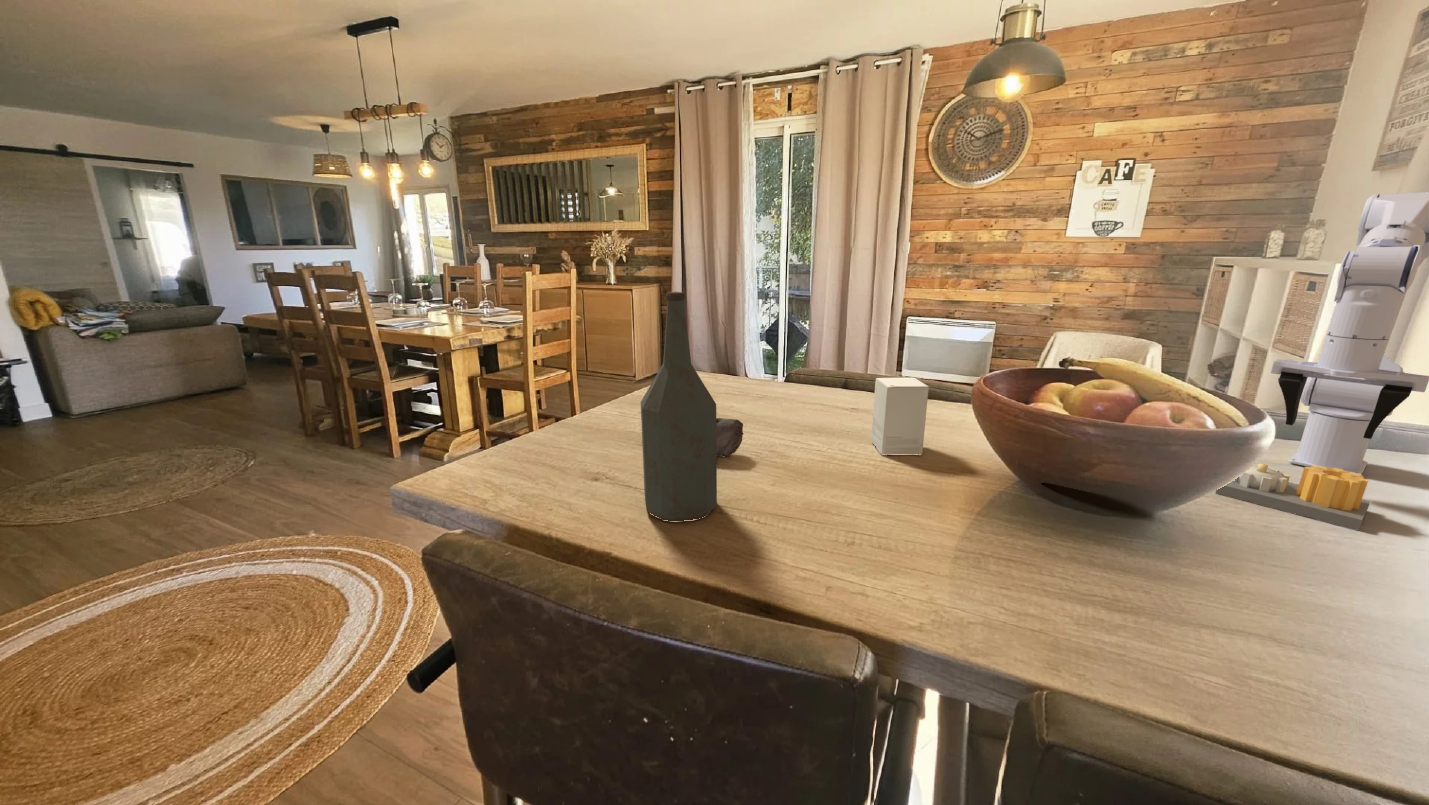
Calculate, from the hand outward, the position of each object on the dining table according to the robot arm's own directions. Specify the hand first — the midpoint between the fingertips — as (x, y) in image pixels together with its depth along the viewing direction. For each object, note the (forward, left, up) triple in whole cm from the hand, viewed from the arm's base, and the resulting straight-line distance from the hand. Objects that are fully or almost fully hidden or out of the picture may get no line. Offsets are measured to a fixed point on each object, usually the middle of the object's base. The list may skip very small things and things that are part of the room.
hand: (1327, 430), depth 79 cm
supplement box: (+34, -48, -10) cm, 60 cm away
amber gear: (+8, +2, -8) cm, 11 cm away
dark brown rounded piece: (+64, -67, -10) cm, 93 cm away
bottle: (+78, -52, -10) cm, 94 cm away
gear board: (+8, -1, -9) cm, 12 cm away
